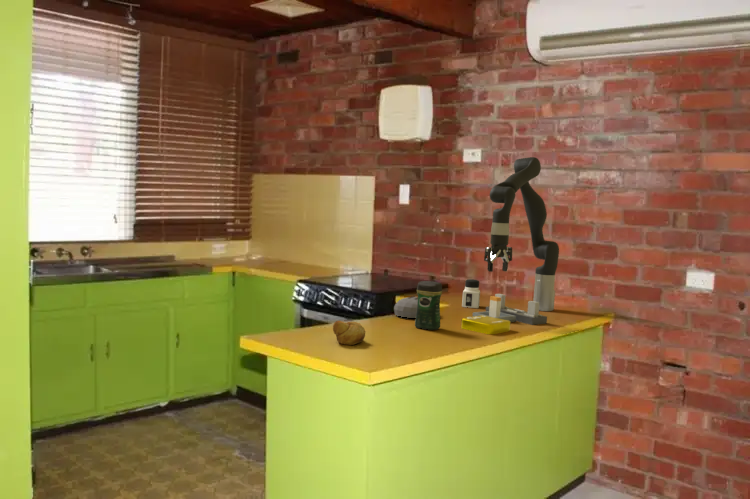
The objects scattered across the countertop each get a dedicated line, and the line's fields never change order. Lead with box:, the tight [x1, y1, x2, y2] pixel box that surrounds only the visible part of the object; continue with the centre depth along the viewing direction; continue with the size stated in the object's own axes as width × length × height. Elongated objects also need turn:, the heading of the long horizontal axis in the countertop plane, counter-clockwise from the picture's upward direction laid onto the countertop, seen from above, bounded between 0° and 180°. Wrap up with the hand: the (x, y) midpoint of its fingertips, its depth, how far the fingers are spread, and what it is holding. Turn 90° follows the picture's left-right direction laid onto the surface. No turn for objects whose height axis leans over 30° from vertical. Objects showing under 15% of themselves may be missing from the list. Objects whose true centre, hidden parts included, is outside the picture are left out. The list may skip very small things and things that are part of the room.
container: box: [461, 278, 481, 309], centre depth 329 cm, size 8×8×13 cm
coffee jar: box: [414, 280, 443, 331], centre depth 271 cm, size 10×8×19 cm
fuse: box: [526, 300, 540, 317], centre depth 296 cm, size 2×4×9 cm, turn 35°
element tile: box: [460, 315, 511, 335], centre depth 275 cm, size 15×15×5 cm
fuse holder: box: [485, 305, 548, 326], centre depth 305 cm, size 9×28×4 cm, turn 35°
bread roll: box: [332, 320, 366, 346], centre depth 239 cm, size 13×10×8 cm
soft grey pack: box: [393, 295, 418, 319], centre depth 296 cm, size 15×8×20 cm
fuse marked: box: [489, 295, 501, 317], centre depth 297 cm, size 2×4×9 cm, turn 36°
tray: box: [471, 310, 517, 323], centre depth 297 cm, size 13×13×2 cm
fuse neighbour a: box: [494, 293, 507, 309], centre depth 313 cm, size 2×4×9 cm, turn 35°
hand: (497, 271), depth 296 cm, fingers open, 8 cm apart
